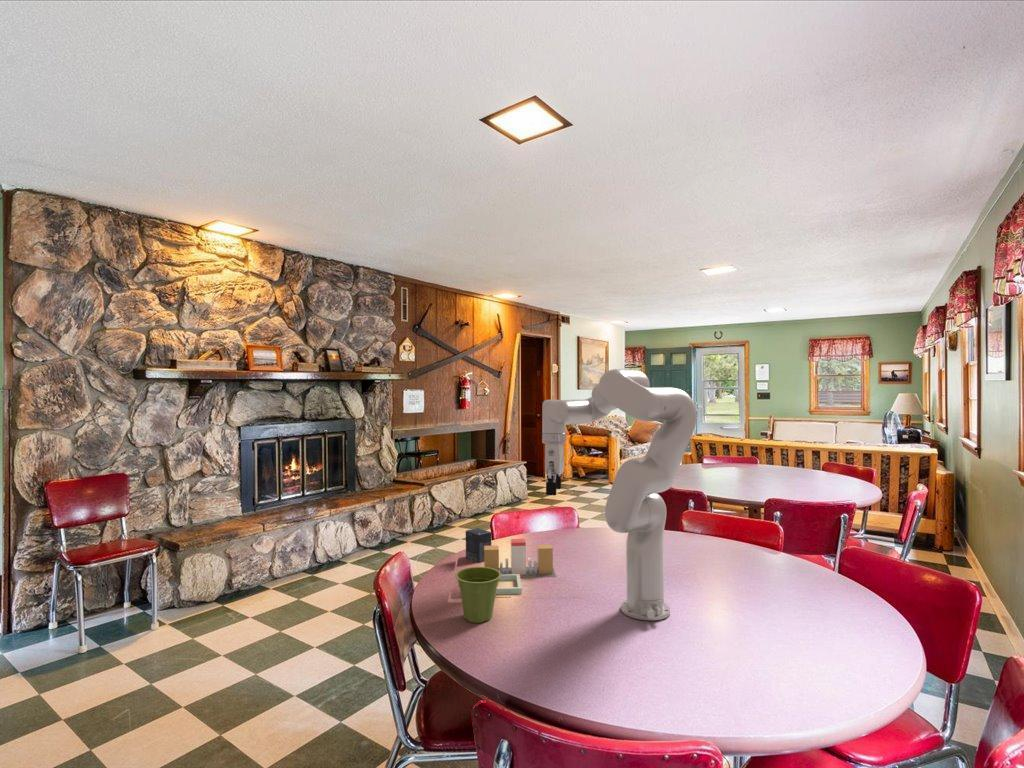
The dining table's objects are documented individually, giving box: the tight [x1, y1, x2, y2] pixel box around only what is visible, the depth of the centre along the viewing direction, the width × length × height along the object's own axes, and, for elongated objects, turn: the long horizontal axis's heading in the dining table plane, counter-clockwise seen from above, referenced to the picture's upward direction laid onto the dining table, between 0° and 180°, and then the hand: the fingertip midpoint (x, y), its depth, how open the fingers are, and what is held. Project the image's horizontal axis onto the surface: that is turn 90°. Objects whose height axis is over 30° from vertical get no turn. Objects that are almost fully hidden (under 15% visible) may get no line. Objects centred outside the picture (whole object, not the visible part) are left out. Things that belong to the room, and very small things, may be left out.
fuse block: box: [483, 543, 557, 579], centre depth 170 cm, size 10×23×9 cm, turn 92°
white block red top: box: [510, 538, 527, 575], centre depth 170 cm, size 4×4×10 cm
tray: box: [495, 574, 523, 599], centre depth 157 cm, size 12×12×2 cm
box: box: [465, 527, 492, 564], centre depth 184 cm, size 8×6×11 cm
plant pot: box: [455, 566, 501, 624], centre depth 138 cm, size 12×12×11 cm
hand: (553, 491), depth 170 cm, fingers open, 9 cm apart
